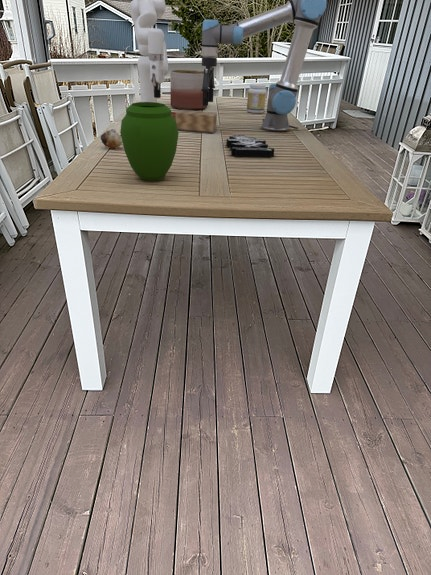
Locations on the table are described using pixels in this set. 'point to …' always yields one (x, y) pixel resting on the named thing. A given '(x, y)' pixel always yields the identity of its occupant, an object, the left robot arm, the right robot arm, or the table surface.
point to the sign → (248, 147)
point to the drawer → (173, 115)
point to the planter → (187, 89)
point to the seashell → (111, 139)
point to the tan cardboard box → (196, 121)
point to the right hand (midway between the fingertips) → (208, 103)
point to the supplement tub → (256, 98)
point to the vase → (149, 139)
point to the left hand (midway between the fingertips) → (157, 97)
